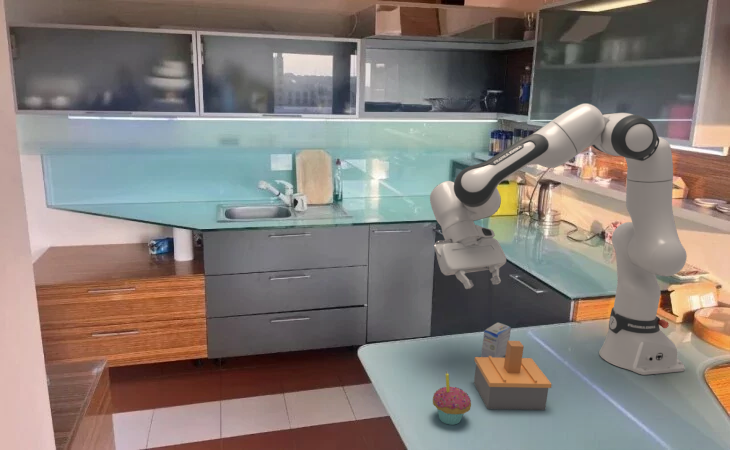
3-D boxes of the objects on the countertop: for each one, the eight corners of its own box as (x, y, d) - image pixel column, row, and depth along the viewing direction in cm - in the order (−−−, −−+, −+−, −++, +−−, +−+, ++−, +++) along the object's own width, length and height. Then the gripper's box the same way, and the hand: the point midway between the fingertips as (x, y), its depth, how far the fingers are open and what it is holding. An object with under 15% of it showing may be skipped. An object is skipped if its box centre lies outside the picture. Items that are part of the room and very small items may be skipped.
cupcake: (439, 431, 124) (445, 381, 121) (424, 410, 131) (429, 362, 129) (475, 427, 126) (481, 378, 123) (458, 406, 134) (464, 359, 131)
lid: (530, 367, 146) (535, 332, 144) (550, 393, 133) (555, 356, 131) (473, 366, 144) (478, 331, 142) (488, 392, 132) (493, 355, 130)
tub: (526, 383, 146) (530, 362, 145) (545, 409, 135) (548, 386, 133) (473, 382, 145) (476, 361, 144) (487, 409, 134) (490, 386, 132)
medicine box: (493, 349, 165) (497, 321, 163) (507, 354, 162) (511, 326, 160) (480, 358, 159) (483, 329, 157) (494, 363, 156) (498, 334, 154)
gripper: (438, 235, 142) (459, 284, 136) (497, 229, 153) (519, 275, 147) (425, 247, 147) (445, 296, 141) (483, 241, 158) (504, 286, 152)
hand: (483, 285), depth 144 cm, fingers open, 8 cm apart
